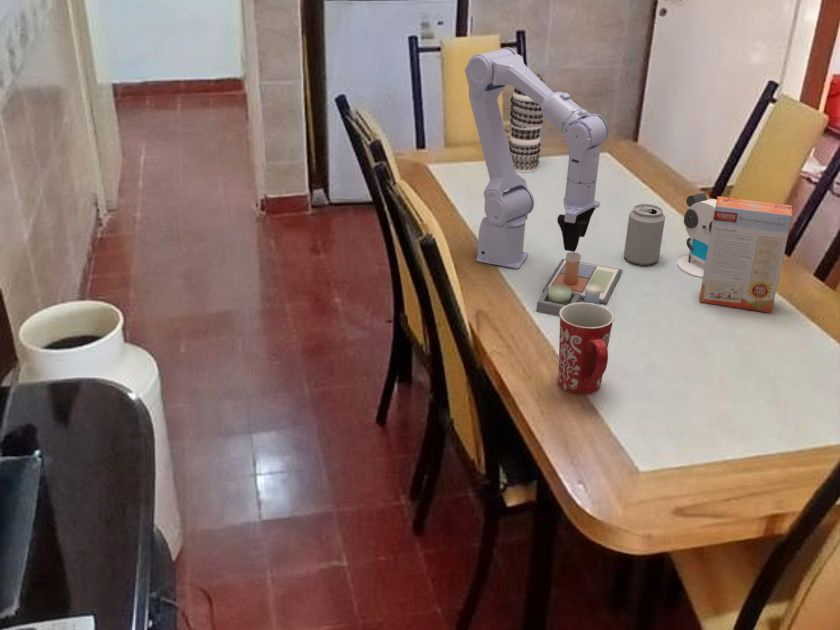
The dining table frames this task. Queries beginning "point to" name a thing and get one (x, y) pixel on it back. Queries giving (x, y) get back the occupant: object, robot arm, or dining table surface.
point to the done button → (559, 294)
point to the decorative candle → (525, 131)
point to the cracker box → (745, 253)
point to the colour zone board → (588, 279)
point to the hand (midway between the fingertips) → (574, 243)
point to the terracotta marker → (572, 268)
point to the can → (644, 234)
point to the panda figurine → (697, 233)
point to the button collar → (554, 307)
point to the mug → (583, 346)
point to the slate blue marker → (592, 294)
